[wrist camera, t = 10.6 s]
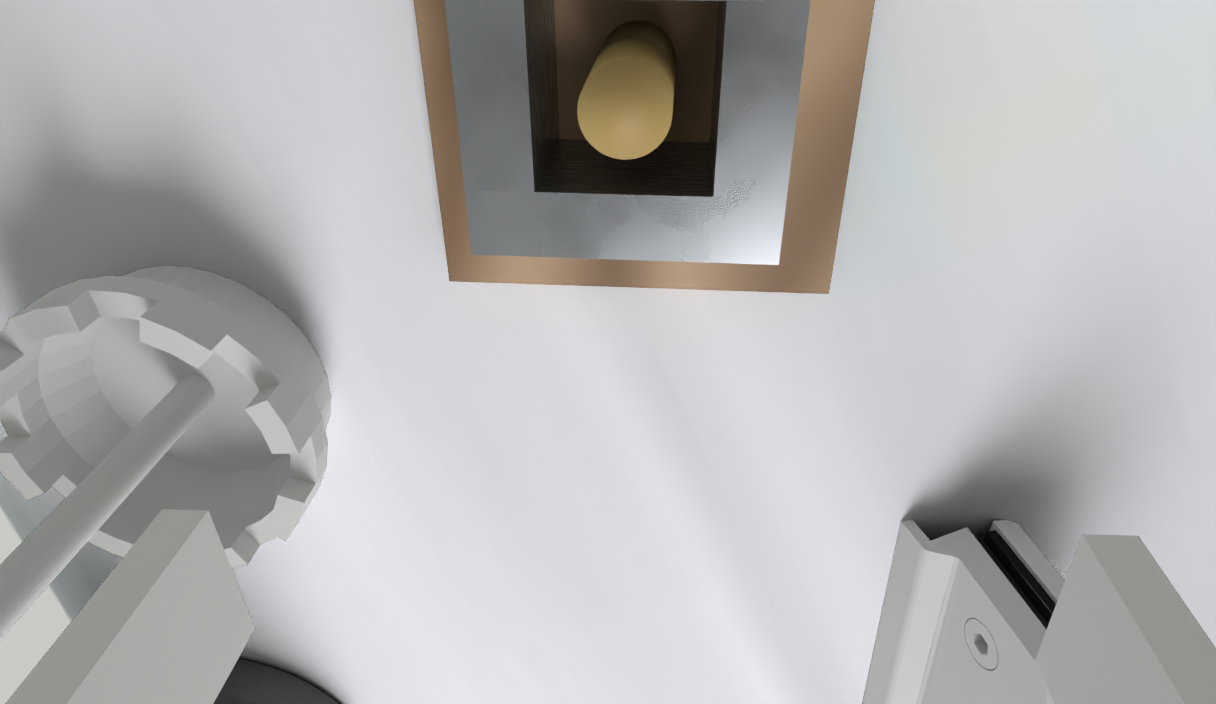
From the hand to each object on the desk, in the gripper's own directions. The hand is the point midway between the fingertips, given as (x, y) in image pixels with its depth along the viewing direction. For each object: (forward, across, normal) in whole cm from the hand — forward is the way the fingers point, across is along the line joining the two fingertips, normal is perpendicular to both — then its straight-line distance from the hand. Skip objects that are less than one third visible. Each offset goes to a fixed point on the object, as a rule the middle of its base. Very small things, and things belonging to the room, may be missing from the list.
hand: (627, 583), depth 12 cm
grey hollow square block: (+17, +1, -4) cm, 18 cm away
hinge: (+19, -15, +24) cm, 34 cm away
